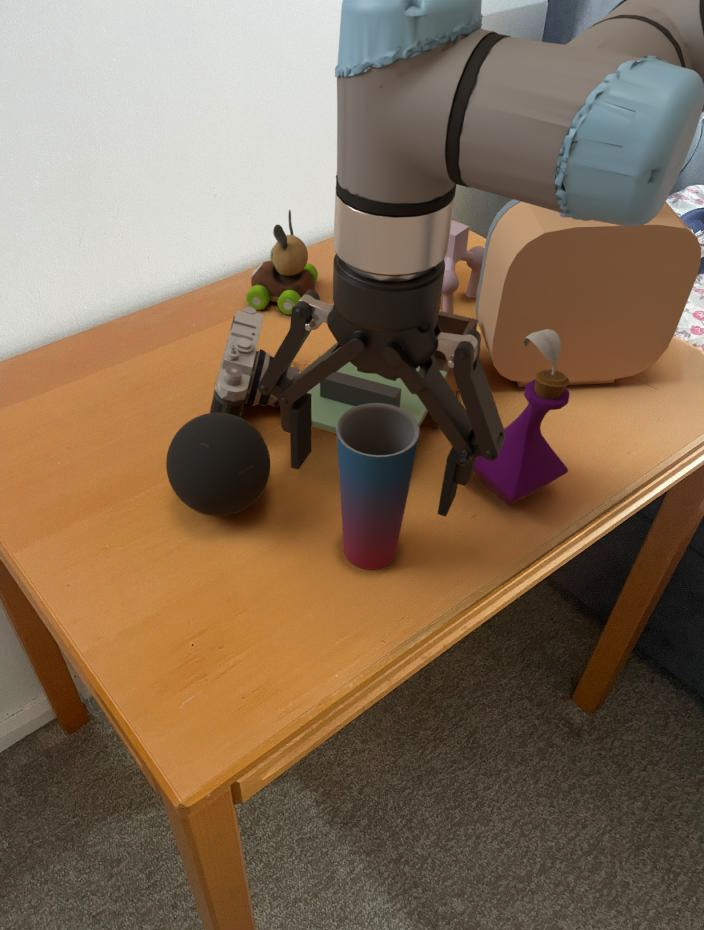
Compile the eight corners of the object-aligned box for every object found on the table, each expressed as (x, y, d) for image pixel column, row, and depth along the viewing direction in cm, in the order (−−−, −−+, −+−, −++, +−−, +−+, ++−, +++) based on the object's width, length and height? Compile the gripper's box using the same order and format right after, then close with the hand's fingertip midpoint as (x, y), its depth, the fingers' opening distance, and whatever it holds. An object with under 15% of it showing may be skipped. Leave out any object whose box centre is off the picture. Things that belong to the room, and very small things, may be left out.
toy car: (264, 275, 108) (259, 198, 100) (323, 284, 106) (323, 206, 98) (241, 308, 102) (234, 229, 94) (304, 318, 100) (302, 238, 92)
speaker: (190, 462, 81) (177, 386, 73) (281, 472, 79) (277, 397, 72) (161, 530, 74) (143, 454, 67) (260, 543, 73) (253, 467, 65)
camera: (278, 463, 83) (301, 393, 76) (201, 443, 81) (217, 371, 74) (291, 377, 94) (312, 309, 87) (223, 359, 92) (239, 289, 85)
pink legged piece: (329, 278, 107) (329, 182, 97) (376, 251, 113) (381, 157, 103) (443, 330, 98) (457, 230, 88) (489, 298, 103) (507, 200, 94)
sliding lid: (446, 378, 79) (450, 352, 77) (404, 453, 71) (407, 427, 69) (333, 349, 83) (334, 324, 81) (281, 417, 75) (280, 392, 73)
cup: (327, 569, 70) (327, 449, 60) (342, 518, 75) (345, 397, 64) (399, 583, 69) (412, 463, 58) (410, 529, 74) (425, 409, 63)
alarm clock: (626, 341, 96) (685, 168, 81) (653, 386, 90) (723, 208, 74) (466, 347, 95) (495, 174, 80) (482, 393, 89) (517, 214, 73)
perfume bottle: (562, 493, 77) (610, 344, 64) (506, 522, 74) (545, 372, 61) (512, 452, 82) (548, 304, 69) (458, 478, 79) (485, 329, 66)
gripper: (589, 268, 49) (523, 496, 65) (250, 196, 56) (264, 417, 72) (565, 326, 44) (500, 557, 60) (199, 240, 51) (225, 467, 67)
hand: (371, 481), depth 66 cm, fingers open, 13 cm apart
